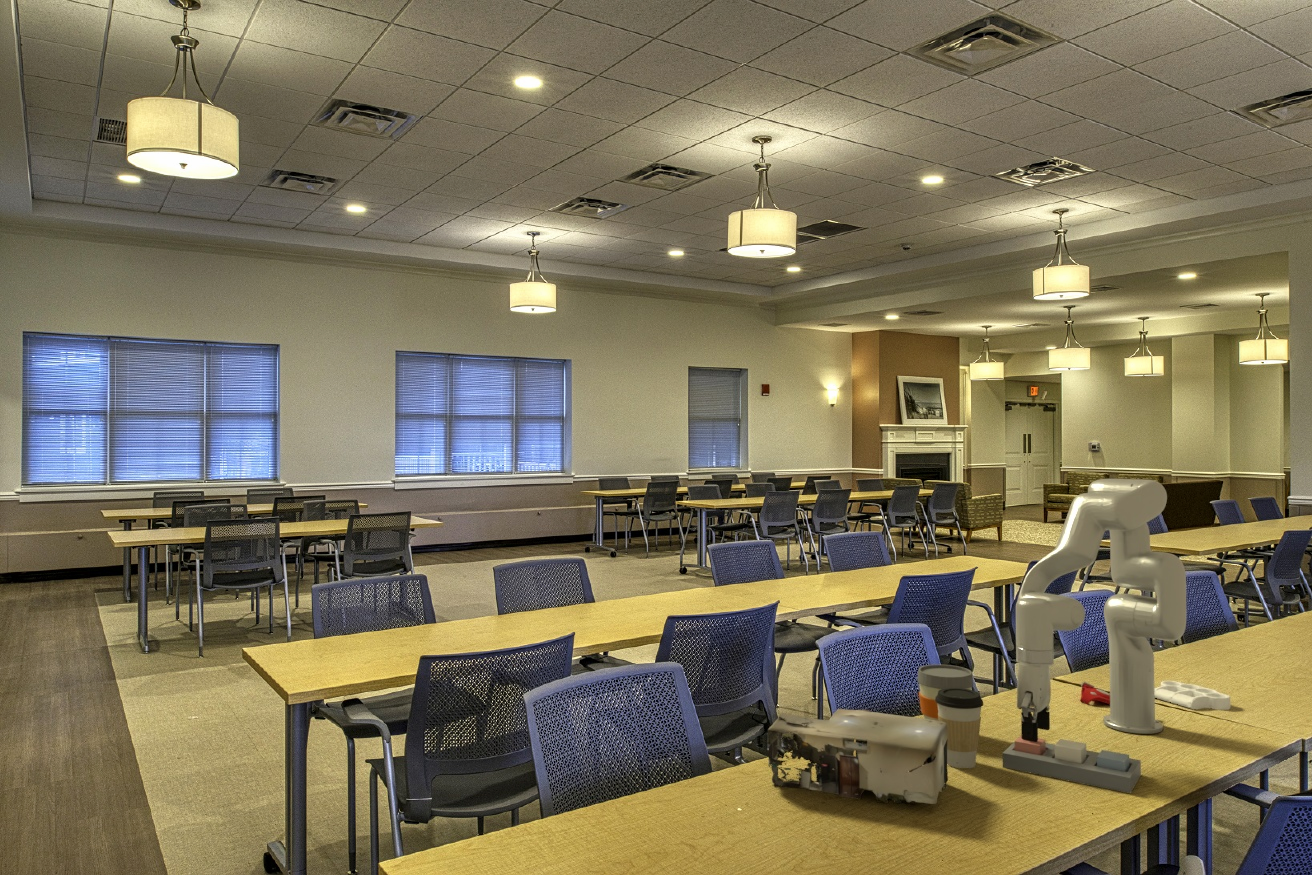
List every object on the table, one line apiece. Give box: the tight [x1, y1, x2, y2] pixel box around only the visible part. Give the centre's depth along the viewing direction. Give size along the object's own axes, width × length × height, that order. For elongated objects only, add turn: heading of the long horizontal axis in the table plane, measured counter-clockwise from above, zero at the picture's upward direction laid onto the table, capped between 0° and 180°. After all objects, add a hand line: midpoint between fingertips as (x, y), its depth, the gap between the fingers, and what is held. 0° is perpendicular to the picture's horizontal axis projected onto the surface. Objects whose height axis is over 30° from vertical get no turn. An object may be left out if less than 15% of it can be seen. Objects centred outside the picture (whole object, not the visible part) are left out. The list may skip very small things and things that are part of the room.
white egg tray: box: [1155, 680, 1231, 711], centre depth 232 cm, size 3×18×15 cm
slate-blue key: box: [1097, 749, 1130, 772], centre depth 178 cm, size 5×5×4 cm
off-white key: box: [1055, 738, 1087, 764], centre depth 183 cm, size 5×5×4 cm
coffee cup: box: [935, 688, 984, 769], centre depth 188 cm, size 10×10×15 cm
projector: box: [767, 708, 949, 805], centre depth 176 cm, size 18×33×13 cm, turn 64°
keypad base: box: [1002, 741, 1142, 794], centre depth 183 cm, size 12×24×3 cm, turn 52°
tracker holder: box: [1079, 681, 1110, 705], centre depth 234 cm, size 12×4×10 cm
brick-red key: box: [1014, 734, 1047, 756], centre depth 188 cm, size 5×5×4 cm
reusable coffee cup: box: [917, 664, 974, 721], centre depth 207 cm, size 13×13×15 cm
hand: (1035, 734), depth 192 cm, fingers open, 9 cm apart
